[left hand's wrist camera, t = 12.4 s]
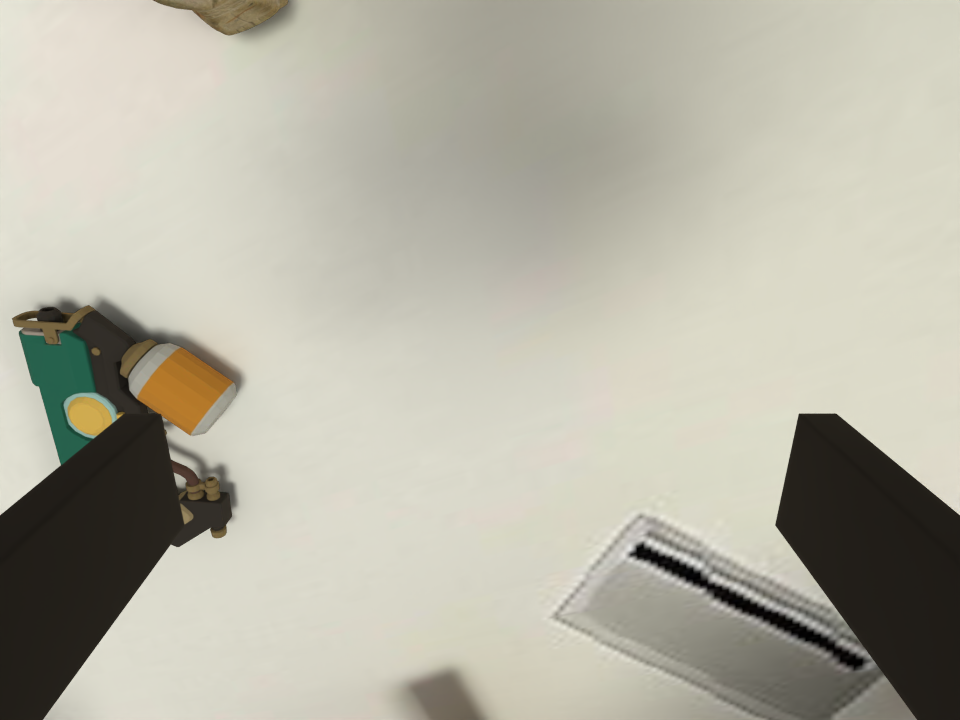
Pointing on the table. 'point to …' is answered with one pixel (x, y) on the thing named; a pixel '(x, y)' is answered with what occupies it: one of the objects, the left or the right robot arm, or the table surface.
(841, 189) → the table surface
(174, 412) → the spray gun
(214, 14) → the sculpture
